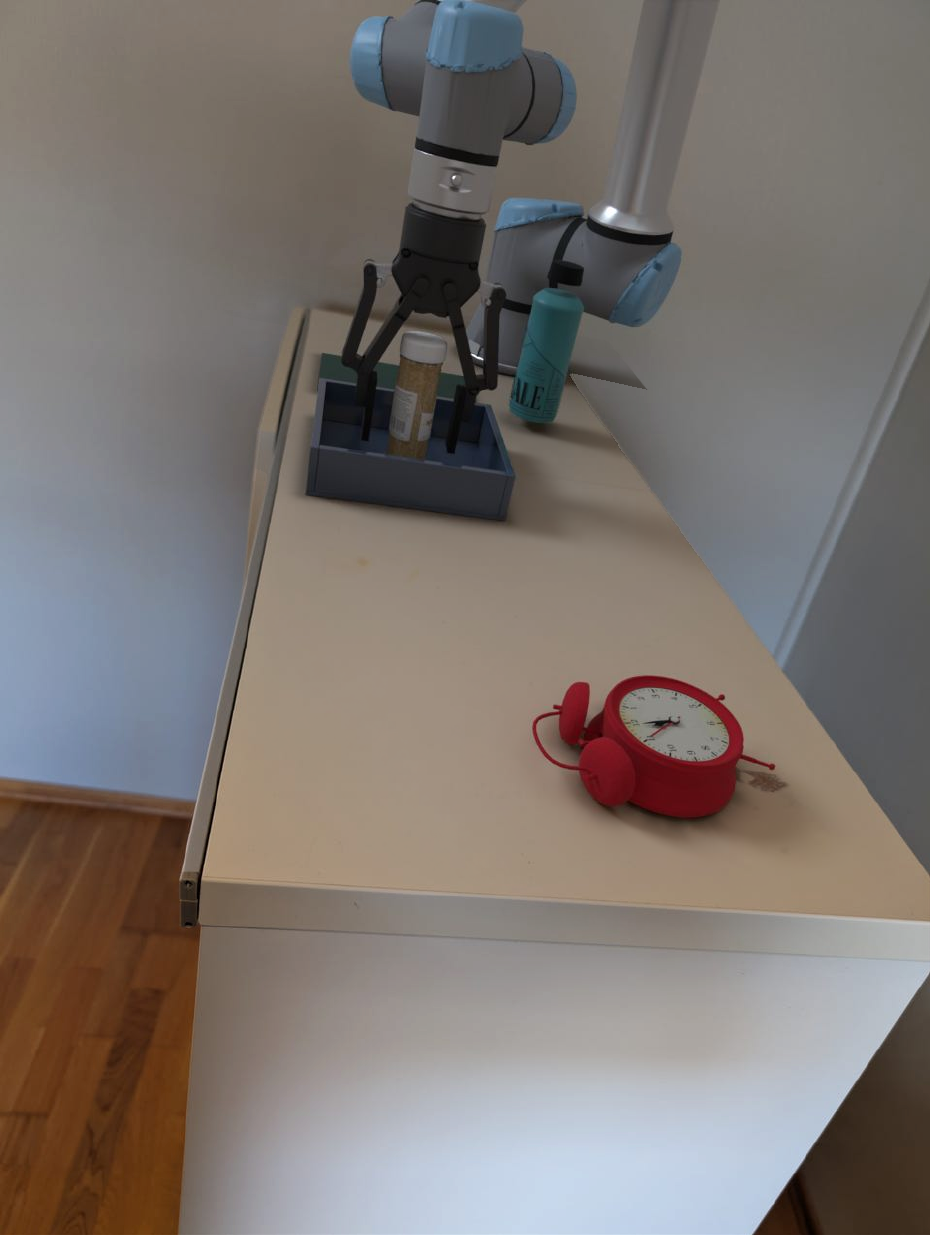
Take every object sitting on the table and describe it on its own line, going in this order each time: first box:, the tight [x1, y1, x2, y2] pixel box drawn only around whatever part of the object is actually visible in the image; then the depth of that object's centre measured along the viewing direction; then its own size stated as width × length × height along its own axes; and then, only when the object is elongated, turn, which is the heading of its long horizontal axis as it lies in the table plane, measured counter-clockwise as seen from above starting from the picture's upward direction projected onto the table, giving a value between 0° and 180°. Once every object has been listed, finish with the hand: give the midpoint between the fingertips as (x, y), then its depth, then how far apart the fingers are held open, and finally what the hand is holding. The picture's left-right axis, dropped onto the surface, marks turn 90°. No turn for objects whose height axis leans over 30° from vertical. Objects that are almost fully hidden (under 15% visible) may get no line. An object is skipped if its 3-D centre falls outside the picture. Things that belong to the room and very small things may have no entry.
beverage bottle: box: [507, 260, 585, 424], centre depth 105 cm, size 6×7×20 cm
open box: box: [305, 377, 517, 522], centre depth 90 cm, size 20×20×5 cm
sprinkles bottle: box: [385, 330, 448, 460], centre depth 88 cm, size 5×5×13 cm
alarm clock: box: [531, 674, 776, 818], centre depth 57 cm, size 10×6×15 cm
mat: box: [316, 352, 465, 399], centre depth 113 cm, size 20×14×1 cm
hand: (407, 442), depth 90 cm, fingers open, 8 cm apart
